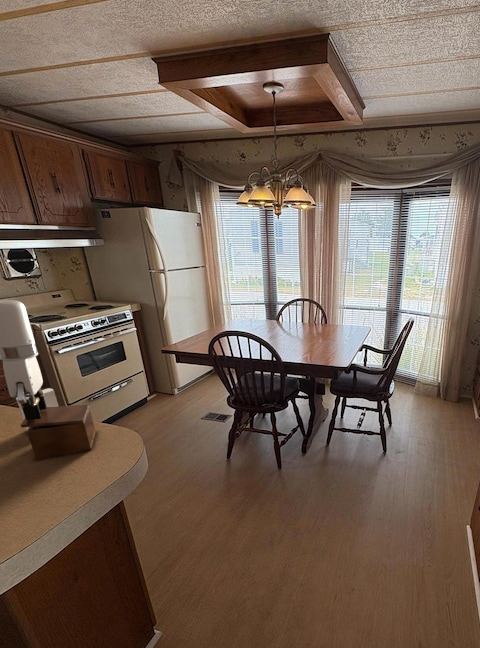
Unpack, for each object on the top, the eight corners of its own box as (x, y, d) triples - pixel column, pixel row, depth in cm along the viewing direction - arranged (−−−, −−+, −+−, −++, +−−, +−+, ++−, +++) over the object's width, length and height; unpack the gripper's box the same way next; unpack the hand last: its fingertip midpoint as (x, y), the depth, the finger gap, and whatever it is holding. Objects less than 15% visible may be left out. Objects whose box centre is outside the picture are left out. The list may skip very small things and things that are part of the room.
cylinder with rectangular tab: (54, 419, 113) (44, 385, 108) (70, 426, 109) (60, 392, 105) (22, 431, 105) (9, 395, 101) (37, 439, 102) (25, 402, 97)
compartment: (36, 459, 92) (26, 431, 89) (45, 440, 101) (37, 414, 98) (91, 449, 98) (83, 422, 94) (95, 432, 106) (89, 407, 103)
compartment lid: (21, 427, 88) (17, 409, 86) (32, 410, 97) (29, 393, 95) (83, 422, 94) (81, 405, 92) (89, 406, 103) (87, 391, 101)
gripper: (10, 342, 92) (28, 403, 99) (-16, 362, 78) (8, 431, 85) (44, 340, 95) (60, 399, 102) (26, 359, 81) (46, 426, 88)
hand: (36, 413), depth 93 cm, fingers closed on compartment lid, 5 cm apart
